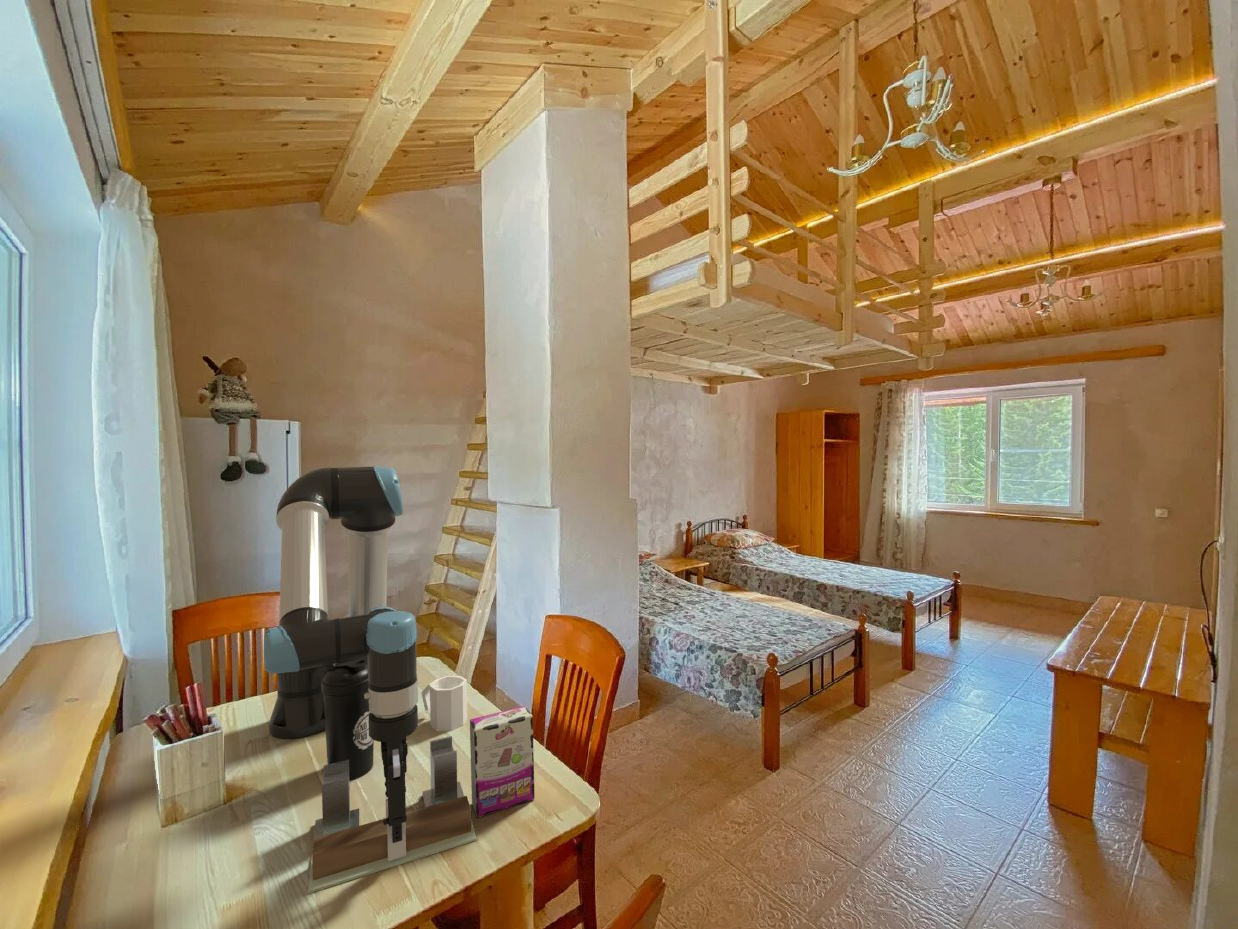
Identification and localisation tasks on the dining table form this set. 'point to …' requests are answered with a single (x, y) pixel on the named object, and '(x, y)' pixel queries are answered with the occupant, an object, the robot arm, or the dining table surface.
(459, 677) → the mug
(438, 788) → the post
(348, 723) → the water bottle
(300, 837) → the dining table surface
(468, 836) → the mat
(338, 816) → the post
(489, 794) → the candy bar box
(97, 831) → the dining table surface
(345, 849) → the rail
